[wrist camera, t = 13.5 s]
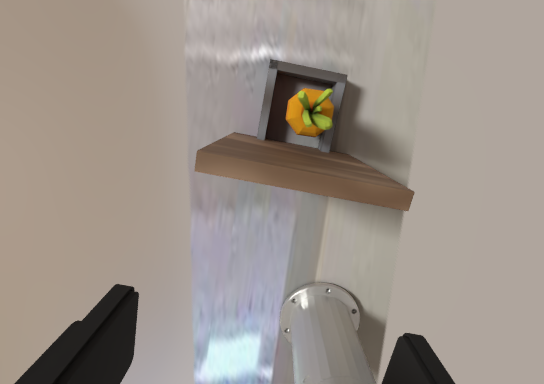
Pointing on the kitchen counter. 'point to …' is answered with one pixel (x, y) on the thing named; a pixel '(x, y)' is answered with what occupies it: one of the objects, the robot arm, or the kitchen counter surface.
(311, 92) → the carrot
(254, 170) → the wall holder
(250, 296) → the kitchen counter surface
